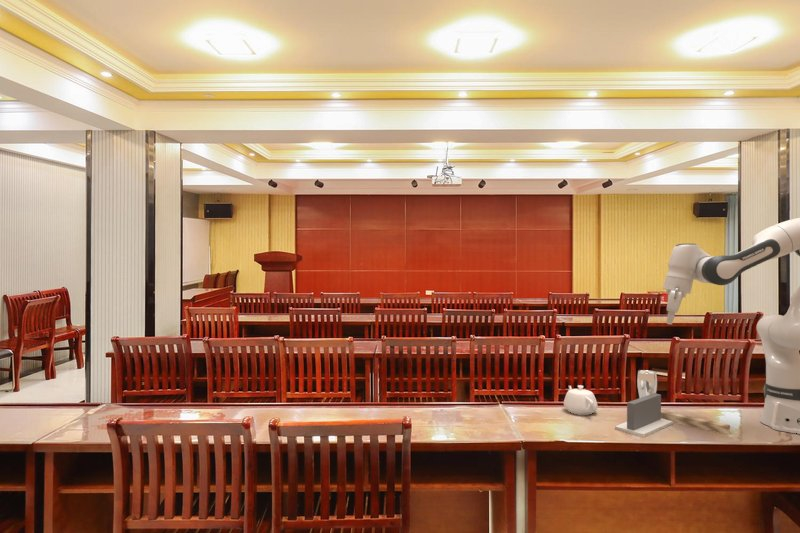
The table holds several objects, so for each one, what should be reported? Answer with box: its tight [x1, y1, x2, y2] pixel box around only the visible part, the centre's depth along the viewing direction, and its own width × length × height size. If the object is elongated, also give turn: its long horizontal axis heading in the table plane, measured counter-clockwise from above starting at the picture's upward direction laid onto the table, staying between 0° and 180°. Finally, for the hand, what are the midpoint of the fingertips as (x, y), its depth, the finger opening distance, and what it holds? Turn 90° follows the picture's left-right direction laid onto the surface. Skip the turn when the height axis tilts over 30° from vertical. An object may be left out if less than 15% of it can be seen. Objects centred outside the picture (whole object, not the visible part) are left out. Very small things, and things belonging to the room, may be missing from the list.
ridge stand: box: [614, 392, 674, 438], centre depth 174 cm, size 10×22×10 cm, turn 128°
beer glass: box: [636, 369, 658, 399], centre depth 194 cm, size 7×7×15 cm
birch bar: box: [661, 409, 731, 435], centre depth 176 cm, size 24×3×3 cm, turn 43°
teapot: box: [563, 384, 599, 416], centre depth 192 cm, size 20×12×10 cm, turn 6°
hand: (669, 323), depth 179 cm, fingers open, 8 cm apart
